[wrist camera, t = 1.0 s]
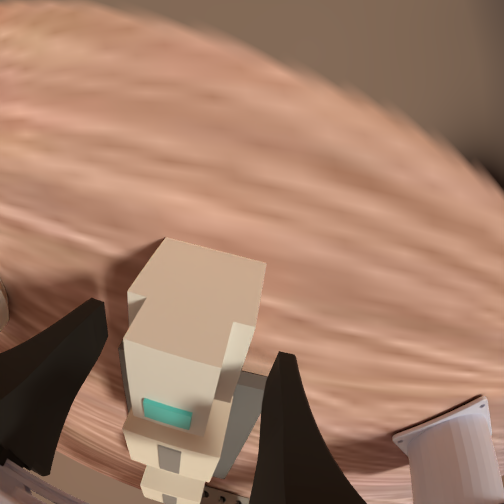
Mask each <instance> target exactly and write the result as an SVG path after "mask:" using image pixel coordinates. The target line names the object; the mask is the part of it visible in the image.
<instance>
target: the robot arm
mask: <svg viewBox="0 0 504 504" xmlns="http://www.w3.org/2000/svg"><path fill="white" fill-rule="evenodd" d="M107 337H108V330H107V323H106V315H105V306H104V302H102V301H99V300H96V299H93V298H91V299H89V300H88V301H86V302H85V303H83V304H82V305H80V306H79V307H78V308H76V309H75V310H73V311H72V312H71V313H69V314H68V315H66V316H65V317H64V318H62V319H61V320H59V321H58V322H56V323H55V324H53V325H52V326H50V327H49V328H47V329H46V330H44V331H42V332H41V333H39V334H38V335H36V336H34V337H33V338H31V339H29V340H28V341H26V342H24V343H22V344H20V345H18V346H16V347H14V348H12V349H10V350H7V351H5V352H3V353H0V504H46V503H44V502H42V501H40V500H39V499H37V498H36V497H34V496H32V494H31V491H30V489H31V490H32V491H34V492H36V493H37V494H39V495H41V496H43V497H44V498H46V499H48V500H50V501H52V502H54V503H55V504H89V503H86V502H84V501H82V500H80V499H78V498H75V497H73V496H71V495H69V494H67V493H65V492H63V491H61V490H60V489H57V488H56V487H54V486H52V485H50V484H48V483H47V482H45V481H43V480H41V479H39V478H38V477H36V476H34V475H33V474H30V473H29V472H28V471H26V470H24V469H23V467H25V468H26V469H28V470H33V471H34V472H36V473H38V474H39V475H41V476H47V475H49V474H50V470H51V466H52V462H53V458H54V454H55V450H56V447H57V443H58V440H59V437H60V434H61V431H62V428H63V425H64V423H65V420H66V417H67V415H68V412H69V410H70V407H71V405H72V403H73V401H74V399H75V397H76V395H77V393H78V391H79V390H80V388H81V386H82V384H83V383H84V381H85V379H86V378H87V376H88V374H89V373H90V371H91V369H92V368H93V366H94V364H95V362H96V361H97V359H98V357H99V356H100V353H101V351H102V349H103V347H104V344H105V342H106V340H107ZM491 436H492V430H491V421H490V414H489V407H488V401H487V398H486V396H481V397H479V398H477V399H475V400H473V401H471V402H469V403H467V404H465V405H463V406H461V407H459V408H457V409H455V410H453V411H451V412H449V413H446V414H444V415H442V416H440V417H437V418H435V419H433V420H430V421H428V422H426V423H423V424H421V425H418V426H416V427H413V428H411V429H408V430H405V431H403V432H400V433H397V434H395V435H393V437H392V440H393V442H394V443H395V444H396V445H397V446H398V447H399V448H400V449H401V450H402V451H403V452H404V453H405V454H406V455H407V456H408V457H409V465H410V474H411V483H412V493H413V504H504V489H503V484H502V479H501V474H500V470H499V465H498V461H497V457H496V453H495V449H494V446H493V442H492V438H491ZM249 504H367V503H366V502H365V501H364V500H363V499H362V497H361V496H360V495H359V494H358V493H357V491H356V490H355V489H354V488H353V486H352V485H351V484H350V482H349V481H348V480H347V478H346V477H345V475H344V474H343V472H342V471H341V469H340V468H339V466H338V465H337V463H336V461H335V460H334V458H333V457H332V455H331V453H330V451H329V449H328V447H327V446H326V444H325V442H324V440H323V438H322V436H321V433H320V431H319V429H318V427H317V424H316V422H315V419H314V417H313V415H312V412H311V409H310V406H309V403H308V400H307V397H306V394H305V391H304V388H303V385H302V381H301V377H300V373H299V369H298V365H297V360H296V356H295V355H294V354H289V353H284V352H280V351H279V353H278V355H277V357H276V360H275V362H274V364H273V366H272V369H271V371H270V373H269V375H268V378H267V380H266V384H265V389H264V395H263V400H262V409H261V424H260V439H259V453H258V461H257V466H256V471H255V477H254V482H253V486H252V491H251V496H250V500H249Z"/></svg>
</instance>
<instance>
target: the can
mask: <svg viewBox="0 0 504 504" xmlns="http://www.w3.org/2000/svg"><path fill="white" fill-rule="evenodd" d="M8 321H9V309H8V297H7V293H6V289H5V287H4V285H3V283H2V281H1V279H0V332H1V330H2V329H3V328H4V327H5V326H6V324H7V322H8Z"/></svg>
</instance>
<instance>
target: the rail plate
mask: <svg viewBox="0 0 504 504" xmlns="http://www.w3.org/2000/svg"><path fill="white" fill-rule="evenodd" d="M118 350H119V358H120V365H121V372H122V378H123V384H124V390H125V396H126V402H127V407H128V412H129V414H128V416H127V419H126V421H125V423H124V426H123V428H122V429H123V433H124V436H125V440H126V443H127V447H128V450H129V453H130V456H131V459H132V460H134V461H137V462H140V463H143V464H146V465H147V466H146V469H145V472H144V475H143V478H142V481H141V484H140V486H141V489H142V492H143V495H144V497H147V498H149V499H153V500H156V501H159V502H162V503H165V504H200V502H201V497H202V493H203V489H204V485H205V482H210V480H211V478H212V477H217V478H221V479H225V477H226V476H227V474H228V472H229V470H230V469H231V467H232V465H233V463H234V461H235V460H236V458H237V456H238V454H239V453H240V451H241V449H242V447H243V445H244V443H245V442H246V440H247V438H248V436H249V434H250V432H251V430H252V429H253V427H254V425H255V423H256V421H257V419H258V417H259V415H260V413H261V409H262V400H263V395H264V389H265V384H266V380H267V378H268V377H266V376H261V375H257V374H252V373H248V372H244V371H241V373H240V376H239V379H238V382H237V385H236V388H235V391H234V393H233V396H232V399H231V402H230V403H227V402H223V401H219V400H215V399H213V403H212V407H211V411H210V415H209V419H208V422H207V426H206V430H205V434H204V437H202V436H198V435H194V434H190V433H187V432H183V431H180V430H176V429H173V428H170V427H166V426H163V425H160V424H157V423H154V422H151V421H148V420H145V419H142V418H139V417H136V416H134V415H133V410H132V404H131V398H130V391H129V384H128V377H127V369H126V361H125V352H124V343H123V341H122V343H121V345H120V346H119V348H118Z"/></svg>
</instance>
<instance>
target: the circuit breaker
mask: <svg viewBox="0 0 504 504" xmlns="http://www.w3.org/2000/svg"><path fill="white" fill-rule="evenodd" d="M200 504H249V498H246V497H242V496H238V495H235V494H231V493H228V492H224V491H221V490H217V489H214V488H211V487H208V486H205V485H204V489H203V493H202V497H201V502H200Z"/></svg>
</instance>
